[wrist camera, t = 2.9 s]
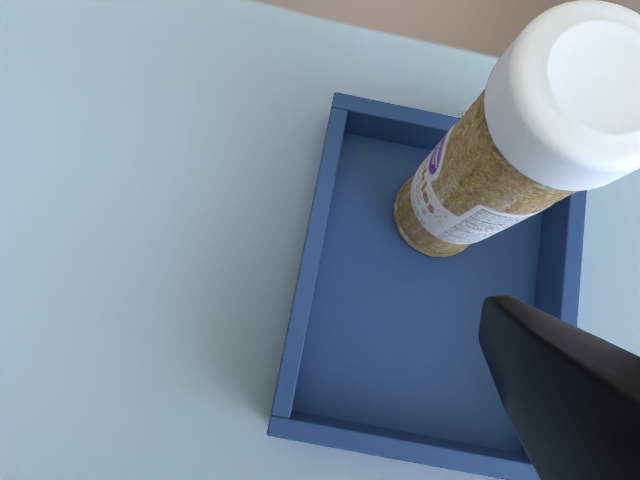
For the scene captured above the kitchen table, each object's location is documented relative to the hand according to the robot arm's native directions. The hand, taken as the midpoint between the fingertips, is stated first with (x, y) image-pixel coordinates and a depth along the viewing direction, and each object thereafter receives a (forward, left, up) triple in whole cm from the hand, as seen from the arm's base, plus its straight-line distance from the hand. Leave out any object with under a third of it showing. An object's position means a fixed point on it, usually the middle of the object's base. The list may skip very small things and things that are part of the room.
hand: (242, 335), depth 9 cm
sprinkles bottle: (+4, -10, -15) cm, 18 cm away
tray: (+1, -8, -15) cm, 17 cm away
